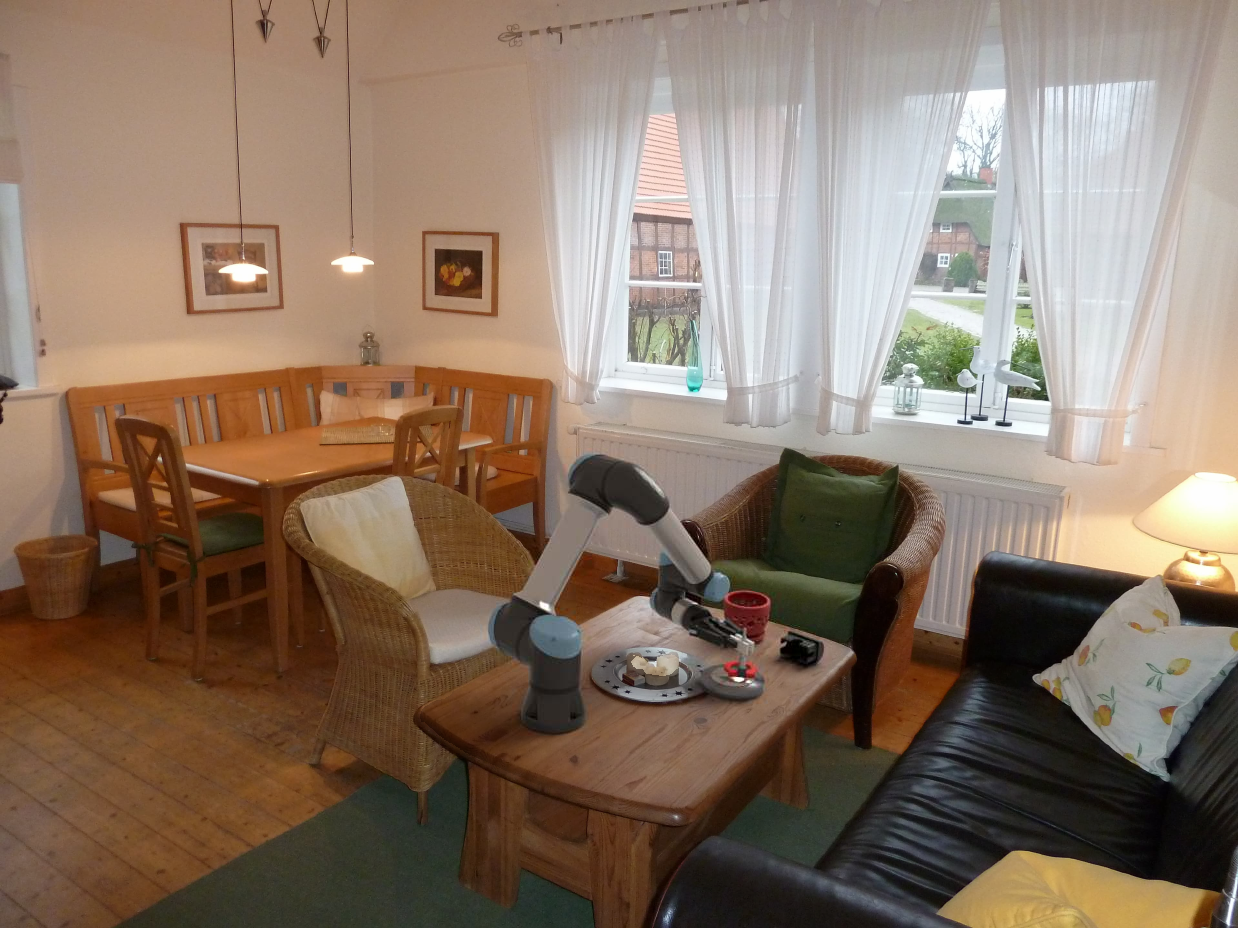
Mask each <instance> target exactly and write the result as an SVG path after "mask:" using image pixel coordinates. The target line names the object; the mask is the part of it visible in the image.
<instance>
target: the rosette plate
mask: <svg viewBox="0 0 1238 928" xmlns="http://www.w3.org/2000/svg"><path fill="white" fill-rule="evenodd" d="M724 664H725V663H724ZM724 664H723V663H721V664H714V665H711V666H708V667H705V668H704V669H703V670H702V671H701V674H700V687H701V690H702V691H704V692H705V693H706V694H708V695H709V696H712V697H714V698H716V699H720V700H724V701H729V702H730V701H731V702H733V701H734V702H745V701H752V700H755V699H757V698H759V697H761V696H762V695H763V694H764V692H765V683H766V682H765V681H766V680H765V677H764V676H763V674H762V673H761V672H759V671H757V672H756V673H755V678H737V677H728V672H726V671H725V670H724ZM738 666H739V665H736V666H731V667H730V668H732V669H734V670H736V671H737V668H738ZM748 670H750V668H748V667H746V671H748Z"/></svg>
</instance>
